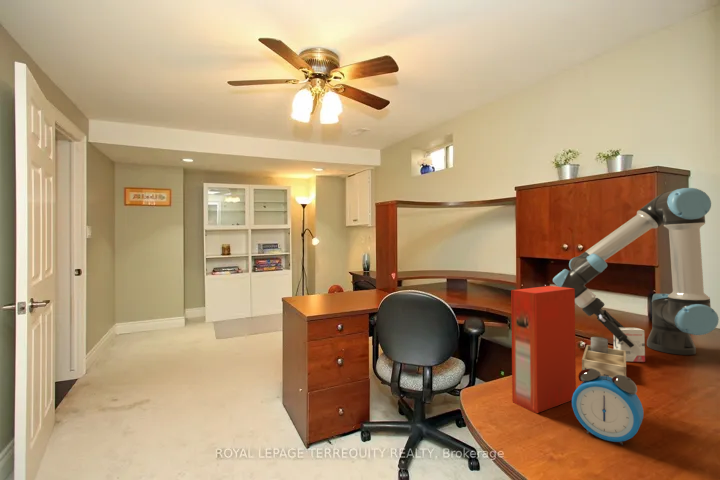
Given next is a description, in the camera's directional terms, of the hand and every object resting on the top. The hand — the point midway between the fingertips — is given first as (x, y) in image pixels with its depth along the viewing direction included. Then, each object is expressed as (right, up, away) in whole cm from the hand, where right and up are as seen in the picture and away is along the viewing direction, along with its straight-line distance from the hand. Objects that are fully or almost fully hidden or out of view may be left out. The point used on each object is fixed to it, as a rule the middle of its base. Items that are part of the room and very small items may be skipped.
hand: (640, 350), depth 131 cm
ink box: (-3, -4, +2) cm, 6 cm away
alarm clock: (-47, -5, -49) cm, 68 cm away
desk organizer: (-19, -4, -7) cm, 20 cm away
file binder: (-52, -5, -31) cm, 61 cm away
